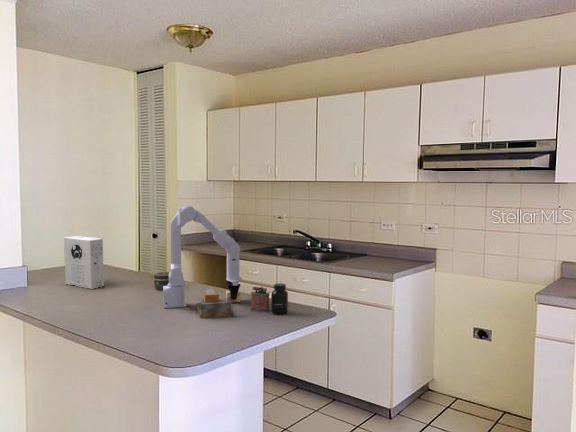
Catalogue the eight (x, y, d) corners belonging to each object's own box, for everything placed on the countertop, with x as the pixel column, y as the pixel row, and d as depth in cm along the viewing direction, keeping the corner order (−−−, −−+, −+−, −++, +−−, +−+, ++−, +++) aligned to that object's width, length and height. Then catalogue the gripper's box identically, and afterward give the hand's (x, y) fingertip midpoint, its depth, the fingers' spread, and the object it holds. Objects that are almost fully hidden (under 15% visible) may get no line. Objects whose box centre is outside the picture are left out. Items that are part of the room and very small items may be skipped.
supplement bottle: (275, 316, 198) (275, 286, 197) (268, 312, 204) (268, 283, 203) (290, 314, 201) (290, 285, 200) (283, 310, 207) (283, 282, 206)
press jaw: (205, 303, 212) (205, 295, 212) (202, 296, 224) (202, 289, 223) (219, 302, 213) (218, 294, 213) (216, 295, 225) (216, 288, 225)
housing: (227, 302, 218) (227, 290, 217) (226, 300, 222) (225, 288, 221) (240, 301, 219) (240, 289, 219) (239, 299, 223) (239, 287, 223)
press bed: (199, 317, 195) (199, 304, 195) (195, 300, 224) (194, 288, 223) (232, 315, 198) (232, 302, 198) (223, 298, 227) (223, 286, 227)
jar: (150, 290, 244) (149, 274, 244) (162, 285, 254) (161, 271, 253) (166, 291, 241) (166, 276, 240) (178, 287, 250) (178, 272, 249)
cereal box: (104, 286, 251) (102, 238, 249) (91, 289, 245) (89, 240, 243) (78, 282, 263) (76, 235, 261) (65, 284, 256) (63, 237, 254)
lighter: (270, 310, 207) (270, 286, 206) (267, 312, 204) (267, 288, 203) (253, 308, 209) (252, 285, 209) (249, 310, 206) (249, 287, 205)
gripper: (244, 270, 213) (244, 301, 214) (239, 265, 227) (239, 293, 228) (228, 271, 212) (228, 302, 213) (224, 265, 226) (224, 294, 227)
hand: (233, 298), depth 220 cm, fingers closed on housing, 4 cm apart
